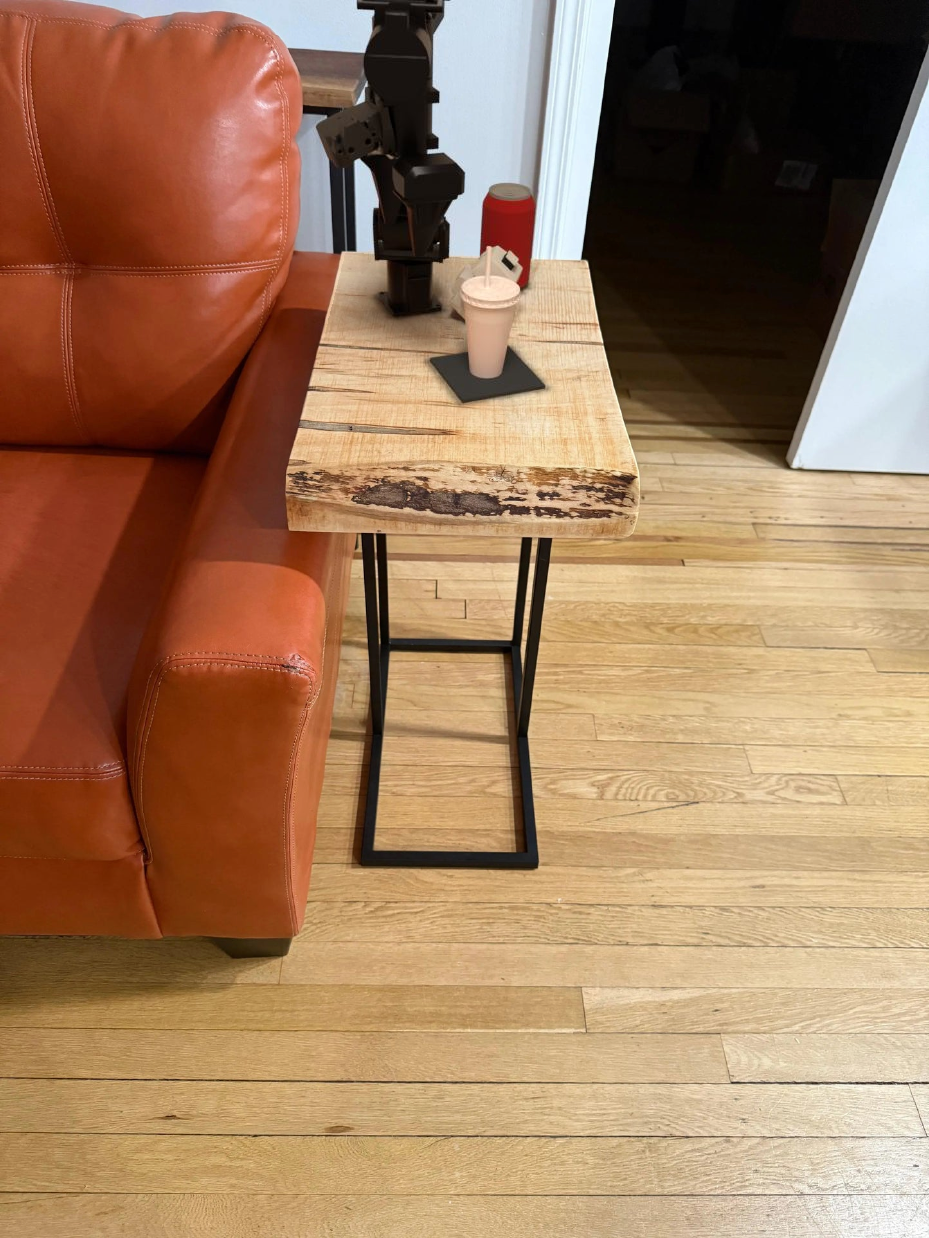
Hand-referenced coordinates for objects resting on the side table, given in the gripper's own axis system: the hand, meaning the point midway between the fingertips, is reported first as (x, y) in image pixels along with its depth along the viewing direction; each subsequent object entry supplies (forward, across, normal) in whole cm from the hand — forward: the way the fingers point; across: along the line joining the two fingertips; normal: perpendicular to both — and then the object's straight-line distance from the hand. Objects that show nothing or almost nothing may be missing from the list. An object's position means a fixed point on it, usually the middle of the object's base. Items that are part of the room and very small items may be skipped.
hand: (404, 239), depth 99 cm
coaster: (+13, +8, +7) cm, 17 cm away
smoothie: (+13, +8, +7) cm, 17 cm away
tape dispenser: (+13, -5, +12) cm, 19 cm away
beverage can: (+13, -14, +19) cm, 27 cm away
